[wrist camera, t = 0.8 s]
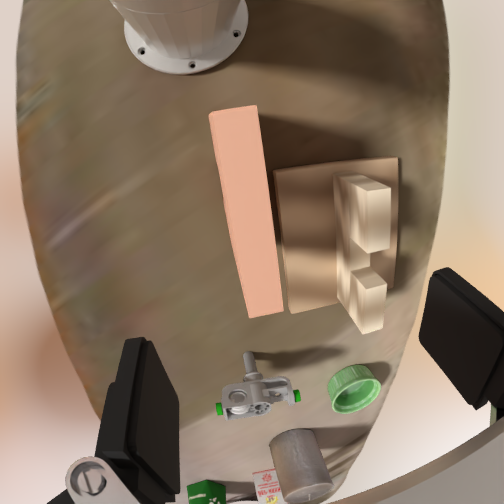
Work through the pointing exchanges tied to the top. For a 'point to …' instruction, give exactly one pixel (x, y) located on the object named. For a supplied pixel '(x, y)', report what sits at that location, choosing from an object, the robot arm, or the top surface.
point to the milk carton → (206, 493)
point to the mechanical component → (255, 393)
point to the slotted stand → (340, 235)
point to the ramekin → (353, 389)
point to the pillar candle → (300, 466)
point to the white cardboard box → (268, 487)
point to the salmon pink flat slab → (248, 206)
